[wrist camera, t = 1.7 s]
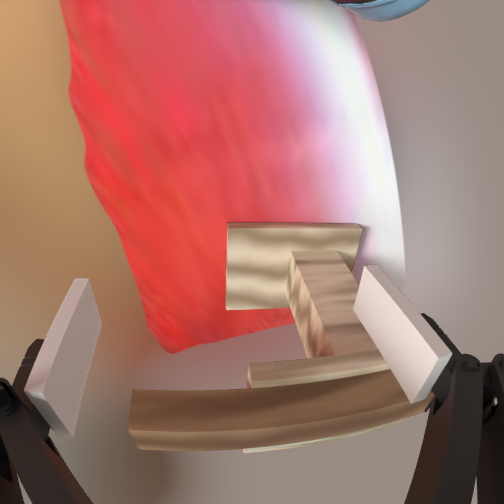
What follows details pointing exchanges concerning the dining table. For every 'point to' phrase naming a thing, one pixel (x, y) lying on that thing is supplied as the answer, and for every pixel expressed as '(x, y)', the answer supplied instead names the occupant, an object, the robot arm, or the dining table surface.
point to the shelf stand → (303, 301)
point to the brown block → (267, 413)
